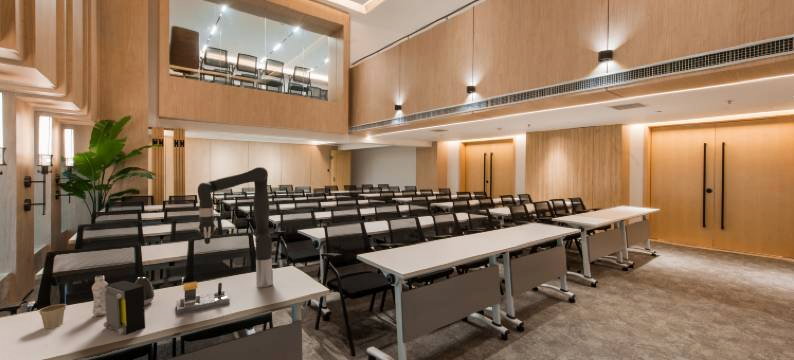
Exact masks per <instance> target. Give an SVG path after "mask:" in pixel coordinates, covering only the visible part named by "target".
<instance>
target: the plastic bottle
mask: <svg viewBox="0 0 794 360" xmlns="http://www.w3.org/2000/svg"><path fill="white" fill-rule="evenodd" d="M108 284H109V283H108V282H107V281H105V275H96V276H95V277H94V283H93V284H92V286H91V291H92V295H93V308H92V314H93V315H94V317H100V316H104V315H105V316H106V298H105V294H106V293H103V292H102V290H103V289H105V286H106V285H108Z"/></svg>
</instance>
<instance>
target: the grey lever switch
mask: <svg viewBox="0 0 794 360" xmlns="http://www.w3.org/2000/svg"><path fill="white" fill-rule="evenodd" d="M222 289H223V283H222V282H218V283H217V292H213V293H208V294H204V295H203V294H202V295H200V294H199V293H196V300H195V301H190V302H185V296H181V297H179V299H178V300H176V303H175V304H176V312H177V316H180V315H184V314H185V315H186V314H191V313H194V312H199V311H203V310H207V309H213V308H217V307H221V306H227V305H229V304H230V302H231V301H230V300H231V299H230V297H229V295H228V293H227V291H226V290H222Z"/></svg>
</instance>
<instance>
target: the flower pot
mask: <svg viewBox="0 0 794 360" xmlns="http://www.w3.org/2000/svg"><path fill="white" fill-rule="evenodd" d="M66 308H67V304H66V303H61V304H59V303H58V304H54V305H53V304H52V305H49V306H46V307H43V308H40V309H39V310H38V313H39V314H40V316H41V321H42V325H43V328H44V329H47V328H48V329H53V327H54V328H56V327H59V325H60V326H62V325H63V324H64V315H65V310H66ZM61 324H62V325H61Z"/></svg>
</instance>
